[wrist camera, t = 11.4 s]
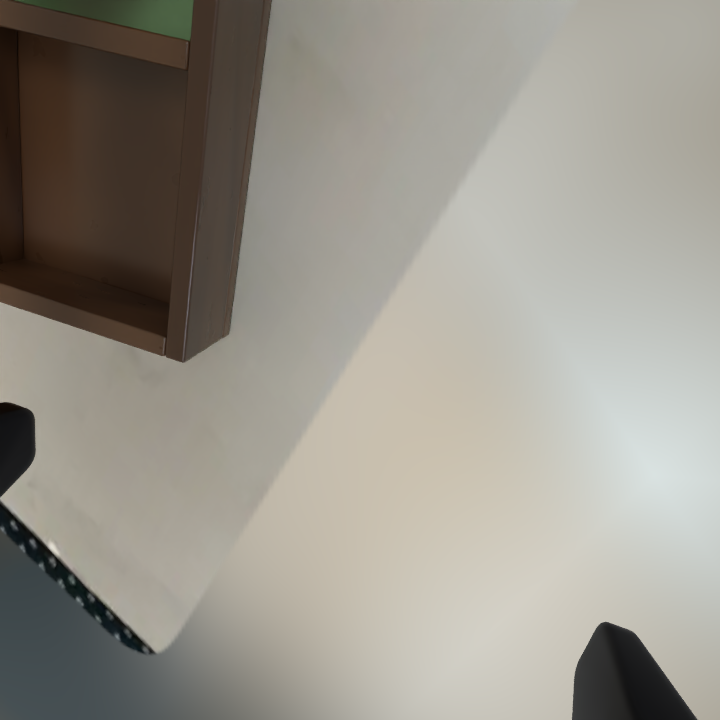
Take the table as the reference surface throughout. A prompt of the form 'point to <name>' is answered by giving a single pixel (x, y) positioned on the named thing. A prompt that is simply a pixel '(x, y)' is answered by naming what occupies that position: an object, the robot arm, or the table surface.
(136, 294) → the compartment tray
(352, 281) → the table surface
